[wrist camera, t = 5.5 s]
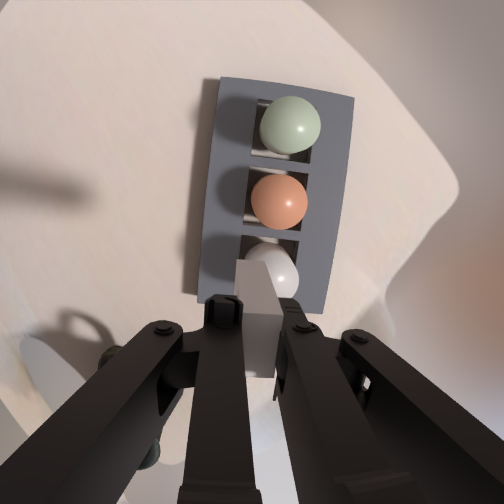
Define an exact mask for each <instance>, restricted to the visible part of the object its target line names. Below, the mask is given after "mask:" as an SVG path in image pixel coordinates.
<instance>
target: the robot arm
mask: <svg viewBox="0 0 504 504" xmlns="http://www.w3.org/2000/svg"><path fill="white" fill-rule="evenodd" d="M275 367H276V371H277V378H276V384H275V389H274V395H273V401H276V397H277V396H278V401H279V406H280V411H281V416H282V421H283V426H284V431H285V436H286V441H287V446H288V451H289V456H290V461H291V466H292V471H293V476H294V481H295V485H296V491H297V495H298V501H299V504H504V441H503V440H502V439H501V438H499V437H498V436H497V435H496V434H495V433H494V432H492V431H491V430H490V429H489V428H487V427H486V426H485V425H484V424H482V423H481V422H480V421H479V420H477V419H476V418H475V417H474V416H472V414H470V413H469V412H468V411H467V410H465V409H464V408H463V407H462V406H461V405H459V404H458V403H457V402H456V401H454V400H453V399H452V398H451V397H449V396H448V395H447V394H446V393H444V392H443V391H442V390H441V389H439V388H438V387H437V386H436V385H434V384H433V383H432V382H431V381H430V380H428V379H427V378H426V377H425V376H423V375H422V374H421V373H420V372H418V371H417V370H416V369H415V368H414V367H412V366H411V365H410V364H408V363H407V362H406V361H405V360H404V359H402V358H401V357H400V356H398V355H397V354H396V353H394V351H392V350H391V349H390V348H389V347H387V346H386V345H385V344H384V343H382V342H381V341H380V340H379V339H377V338H376V337H375V336H374V335H372V334H370V333H369V332H366V331H364V330H361V329H360V330H359V329H350V330H346V331H344V332H343V333H342V336H341V340H339V339H333V338H328V337H324V335H323V333H322V331H321V329H320V328H319V327H318V326H317V325H316V324H314V323H311V322H308V320H307V318H306V316H305V314H304V313H303V310H302V309H301V306H300V304H299V302H297V301H296V300H294V299H293V298H283V297H277V294H276V291H275V289H274V286H273V283H272V280H271V277H270V274H269V272H268V269H267V266H266V263H265V261H254V260H241V259H237V263H236V275H235V287H234V295H223V294H214V295H213V296H211V297H210V298H207V299H206V301H205V310H204V326H203V328H201V329H199V330H197V331H193V332H185V333H183V329H182V327H181V326H180V325H179V324H177V323H174V322H171V321H166V320H162V321H161V320H159V321H155V322H151V323H149V324H148V325H146V326H145V327H144V328H143V329H142V330H141V331H140V332H138V333H137V334H136V335H135V336H134V337H133V338H132V339H131V340H130V341H129V342H128V343H127V344H126V345H125V346H124V347H123V348H121V349H120V350H119V351H118V352H117V353H116V354H115V355H114V356H113V357H112V358H111V359H110V360H109V361H108V362H107V363H106V364H105V365H104V366H102V367H101V368H100V369H99V370H98V371H97V372H96V373H95V374H94V375H93V376H92V377H91V378H90V379H89V380H88V381H87V382H86V383H85V384H84V385H83V386H82V387H81V388H79V389H78V390H77V391H76V392H75V393H74V394H73V395H72V396H71V397H70V398H69V399H68V400H67V401H66V402H65V403H64V404H63V405H62V406H61V407H60V408H59V409H58V410H57V411H56V412H55V413H54V414H53V415H52V416H50V417H49V418H48V419H47V420H46V421H45V422H44V423H43V424H42V425H41V426H40V427H39V428H38V429H37V430H36V431H35V432H34V433H33V434H32V435H31V436H30V437H29V438H28V439H27V440H26V441H25V442H24V443H23V444H22V445H21V446H20V447H19V448H18V449H17V450H16V451H15V452H14V453H13V454H12V455H11V456H10V457H9V458H8V459H7V460H6V461H5V462H4V463H3V464H2V465H1V466H0V504H116V503H117V501H118V500H119V498H120V497H121V495H122V493H123V492H124V490H125V488H126V487H127V485H128V484H129V482H130V480H131V479H132V477H133V475H134V474H135V472H136V471H137V469H138V467H139V466H140V464H141V462H142V461H143V459H144V458H145V456H146V454H147V453H148V451H149V449H150V448H151V446H152V444H153V443H154V441H155V439H156V438H157V436H158V434H159V433H160V431H161V430H162V428H163V426H164V425H165V423H166V421H167V420H168V418H169V416H170V415H171V413H172V411H173V410H174V408H175V406H176V405H177V403H178V401H179V400H180V398H181V396H182V395H183V391H184V388H191V387H194V395H193V402H192V410H191V418H190V426H189V434H188V442H187V450H186V459H185V469H184V477H183V484H182V486H180V488H179V493H178V500H177V504H263V503H262V498H261V493H260V490H258V489H256V485H255V475H254V466H253V454H252V443H251V432H250V421H249V410H248V398H247V386H246V377H259V378H274V374H275ZM366 377H367V378H369V380H370V381H371V383H370V386H369V388H368V389H366V388H365V387H364V386H363V385H364V382H365V378H366Z"/></svg>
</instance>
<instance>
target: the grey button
mask: <svg viewBox="0 0 504 504" xmlns="http://www.w3.org/2000/svg"><path fill="white" fill-rule="evenodd" d="M244 260H254V261H265V263H266V266H267V269H268V272H269V274H270V277H271V280H272V283H273V286H274V289H275V291H276V294H277V297H283V298H292V297H293V296H294V294H295V293H296V291H297V288H298V285H299V275H298V272H297V269H296V267H295V265H294V264H293V262H292V260H291V258H290V257H289V255H288V253H287V252H286V251H285V249H284V248H282V247H281V246H279V245H277V244H275V243H270V242H265V243H260V244H257V245H255V246H254V247H252V248H251V249H250V250H249V251H248V252H247V254H246V256H245V258H244Z"/></svg>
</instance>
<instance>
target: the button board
mask: <svg viewBox="0 0 504 504" xmlns="http://www.w3.org/2000/svg"><path fill="white" fill-rule="evenodd" d="M285 96H296V97H300V98H302V99H304V100H306V101H308V102H309V103H310V104H311V105H312V106H313V107H314V108H315V109H316V111H317V113H318V115H319V117H320V122H321V129H320V133H319V136H318V138H317V140H316V141H315V142H314V144H313V145H311V146H310V147H309V148H308V152H307V160H306V163H300V162H294V161H287V160H279V159H272V158H264V157H256V156H251V150H252V142H253V134H254V125H255V117H256V109H257V103H263V104H271V103H272V102H273V101H275V100H277V99H279V98H281V97H285ZM353 110H354V98H353V97H349V96H345V95H340V94H336V93H331V92H326V91H321V90H316V89H311V88H305V87H299V86H294V85H287V84H281V83H274V82H267V81H259V80H250V79H241V78H231V77H221V78H220V85H219V91H218V98H217V106H216V113H215V121H214V128H213V136H212V144H211V153H210V161H209V170H208V179H207V189H206V198H205V209H204V219H203V230H202V242H201V254H200V266H199V280H198V295H197V303H202V304H205V301H206V299H207V298H210V297H211V296H213V295H214V294H223V295H234V287H235V275H236V263H237V259H239V253H240V244H241V235H251V236H260V237H269V238H278V239H287V240H296V241H295V248H294V255H293V261H292V262H293V264H294V265H295V267H296V269H297V272H298V275H299V285H298V288H297V291H296V293H295V294H294V296H293V297H292V298H293V299H294V300H296V301H297V302H299V304H300V306H301V309H302V310H303V313H313V314H322V313H323V309H324V304H325V299H326V294H327V289H328V284H329V279H330V274H331V268H332V263H333V258H334V252H335V246H336V240H337V234H338V228H339V222H340V216H341V209H342V202H343V196H344V188H345V181H346V174H347V166H348V158H349V149H350V140H351V131H352V121H353ZM249 166H252V167H261V168H269V169H276V170H284V171H291V172H298V173H305V176H304V184H303V187H304V189H305V191H306V194H307V199H308V204H307V210H306V213H305V215H304V217H303V218H302V219H301V221H300V222H299V223H298V228H292V227H291V228H288V229H284V230H276V229H272V228H269V227H267V226H265V225H264V224H258V223H249V222H243V217H244V209H245V200H246V192H247V183H248V175H249Z"/></svg>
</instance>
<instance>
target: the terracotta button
mask: <svg viewBox="0 0 504 504" xmlns="http://www.w3.org/2000/svg"><path fill="white" fill-rule="evenodd" d="M250 199H251V205H252V208H253V210H254V213H255V215H256V217H257V218H258V220H259V221H260V222H261V223H262V224H264V225H265V226H267V227H269V228H272V229H276V230H284V229H288V228H291V227H293V226H295V225H296V224H297V223H299V222H300V221H301V219H302V218H303V217H304V215H305V213H306V210H307V204H308V199H307V194H306V191H305V189H304V187H303V186H302V185H301V184H300V182H298V181H297V180H296V179H294V178H293V177H291V176H288V175H281V174H270V175H266V176H264V177H262V178H260V179H259V180H258V181H257V182H256V183H255V185H254V186H253V188H252V191H251V197H250Z"/></svg>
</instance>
